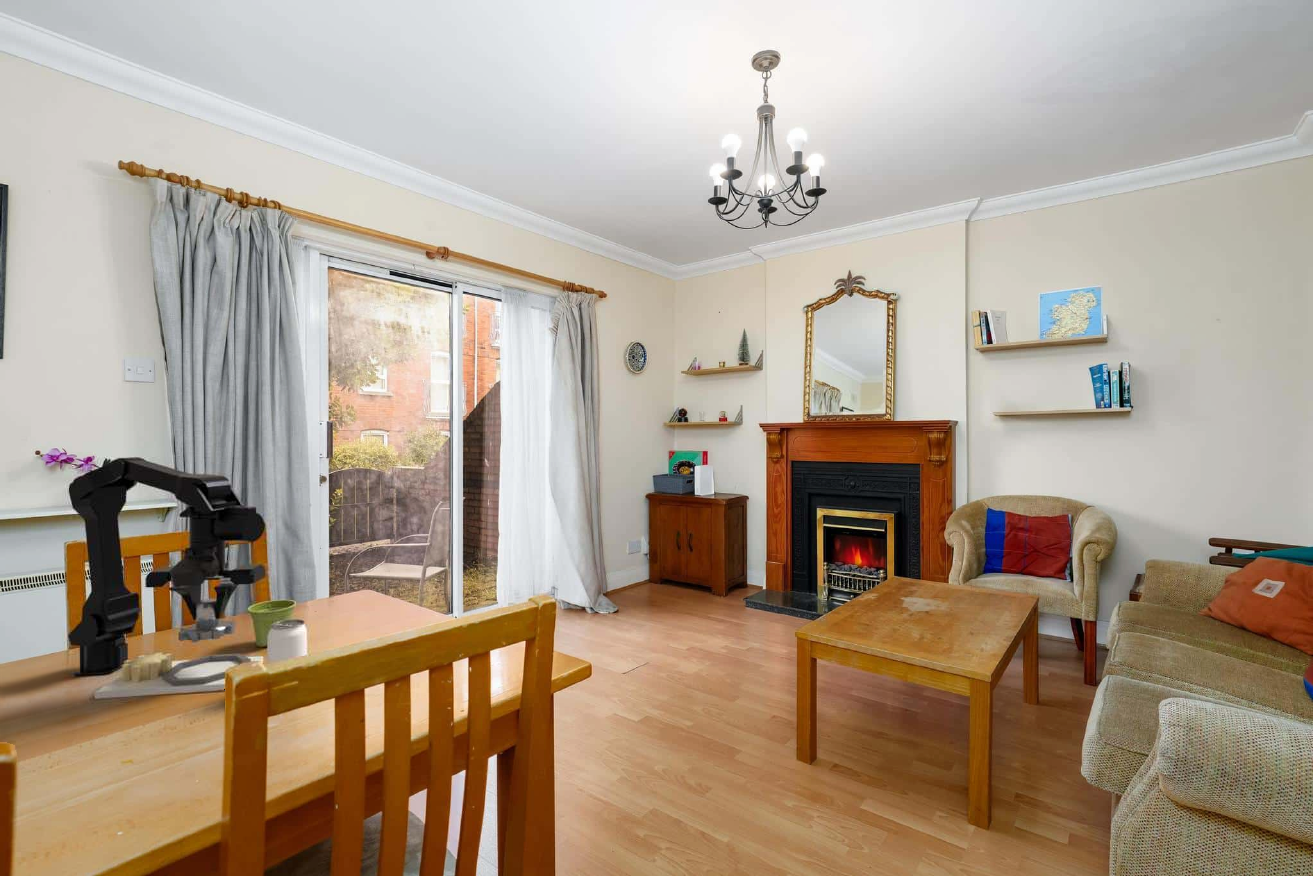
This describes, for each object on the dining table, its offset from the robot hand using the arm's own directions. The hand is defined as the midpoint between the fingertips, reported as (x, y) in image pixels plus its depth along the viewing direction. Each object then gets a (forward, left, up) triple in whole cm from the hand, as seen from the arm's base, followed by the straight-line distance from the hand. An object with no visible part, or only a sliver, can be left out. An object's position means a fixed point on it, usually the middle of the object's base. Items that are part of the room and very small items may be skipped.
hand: (207, 618), depth 119 cm
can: (+17, -7, -12) cm, 22 cm away
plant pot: (+4, +19, -12) cm, 23 cm away
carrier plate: (-4, 0, -12) cm, 12 cm away
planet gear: (0, 0, -3) cm, 3 cm away
